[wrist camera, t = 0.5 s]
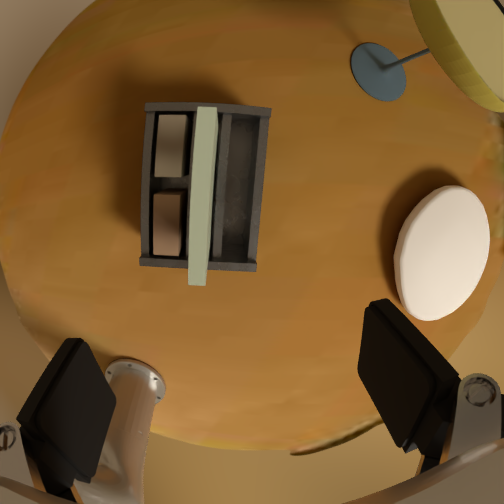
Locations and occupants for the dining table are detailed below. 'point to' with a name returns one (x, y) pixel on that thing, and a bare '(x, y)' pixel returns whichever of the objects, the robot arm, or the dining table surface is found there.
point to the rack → (225, 190)
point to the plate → (441, 252)
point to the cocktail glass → (444, 51)
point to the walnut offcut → (169, 221)
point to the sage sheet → (202, 193)
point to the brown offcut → (173, 146)
